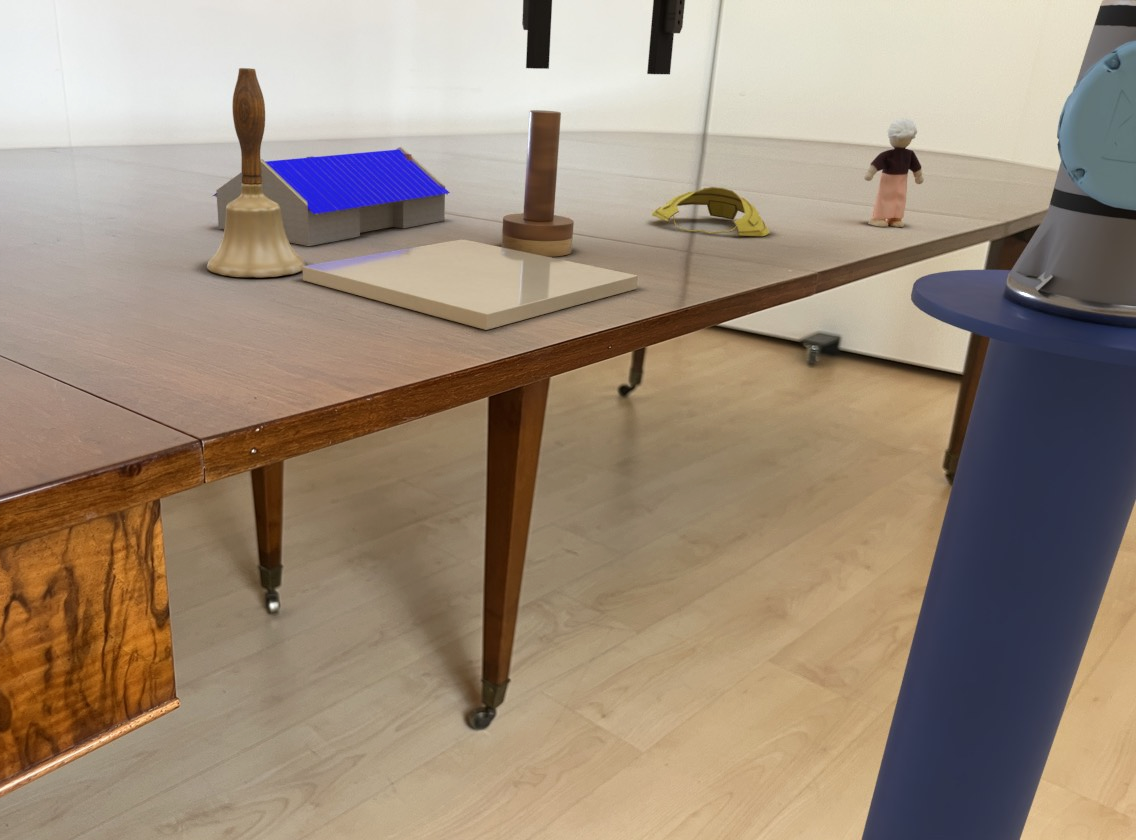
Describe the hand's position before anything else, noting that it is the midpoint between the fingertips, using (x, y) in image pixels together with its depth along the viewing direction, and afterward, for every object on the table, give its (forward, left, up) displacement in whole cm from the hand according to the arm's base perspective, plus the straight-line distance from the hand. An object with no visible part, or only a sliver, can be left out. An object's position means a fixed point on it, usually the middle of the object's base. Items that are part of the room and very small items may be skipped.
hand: (595, 71), depth 93 cm
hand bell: (+13, +30, -17) cm, 37 cm away
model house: (+25, +10, -17) cm, 32 cm away
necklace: (-1, -26, -17) cm, 31 cm away
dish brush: (+3, +3, -17) cm, 17 cm away
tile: (-3, +20, -17) cm, 26 cm away
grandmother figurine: (-14, -46, -17) cm, 51 cm away
